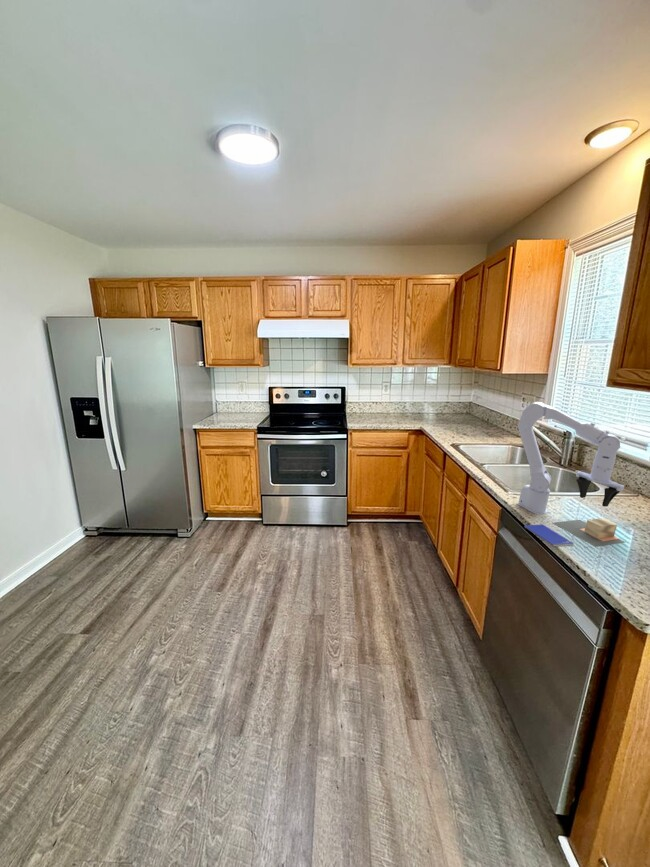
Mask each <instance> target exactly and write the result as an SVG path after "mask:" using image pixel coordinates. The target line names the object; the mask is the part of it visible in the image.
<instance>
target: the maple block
mask: <svg viewBox="0 0 650 867" xmlns="http://www.w3.org/2000/svg"><path fill="white" fill-rule="evenodd" d="M617 527H618V524H617V523H615V522H613V521H611V520H609V519H607V518H605V517H603V518H594V519H586V527H585V530H584V532H586V533H588V534H590V535H592V536H594V537H596V538H602V537H610V536H615V535H616V531H617Z"/></svg>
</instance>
